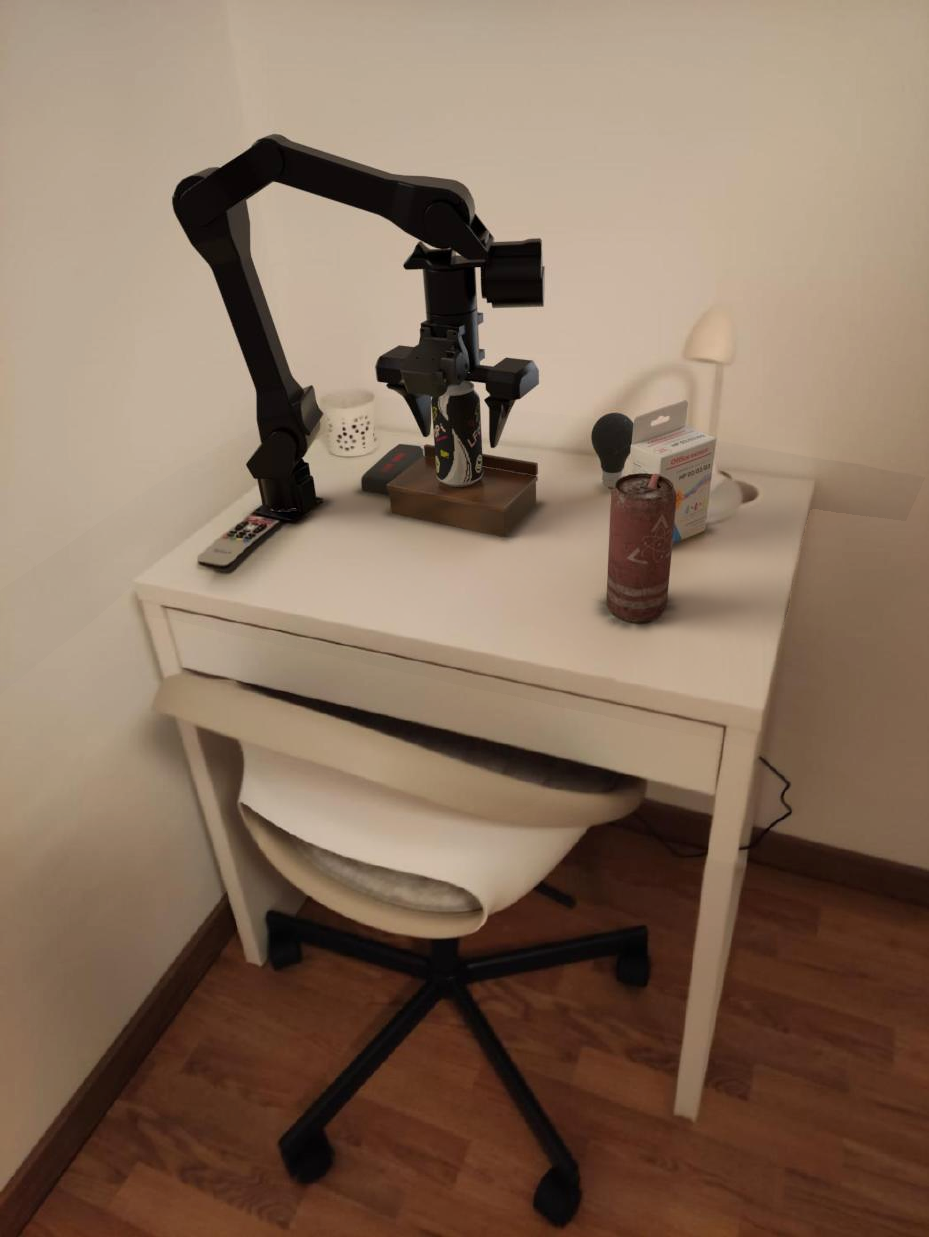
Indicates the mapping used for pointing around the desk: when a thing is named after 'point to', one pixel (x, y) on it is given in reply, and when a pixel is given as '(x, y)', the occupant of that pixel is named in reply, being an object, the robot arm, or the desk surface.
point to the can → (640, 546)
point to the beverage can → (458, 435)
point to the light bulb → (612, 445)
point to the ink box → (676, 463)
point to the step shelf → (467, 494)
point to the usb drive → (391, 467)
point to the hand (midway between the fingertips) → (459, 441)
